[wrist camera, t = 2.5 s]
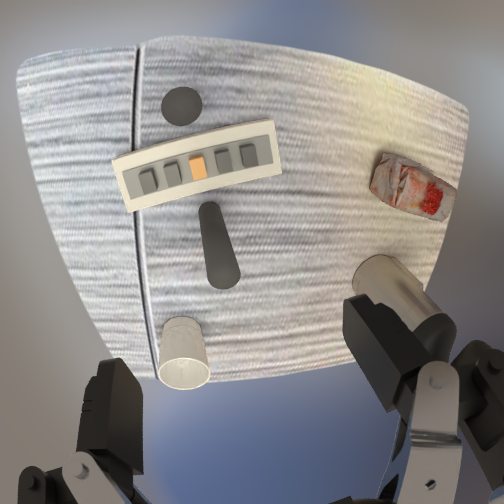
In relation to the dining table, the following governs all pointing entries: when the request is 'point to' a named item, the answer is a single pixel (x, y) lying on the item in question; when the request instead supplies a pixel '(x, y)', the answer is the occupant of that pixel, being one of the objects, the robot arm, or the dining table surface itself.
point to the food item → (412, 188)
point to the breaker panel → (191, 146)
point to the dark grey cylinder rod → (217, 248)
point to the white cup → (183, 355)
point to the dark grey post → (181, 106)
